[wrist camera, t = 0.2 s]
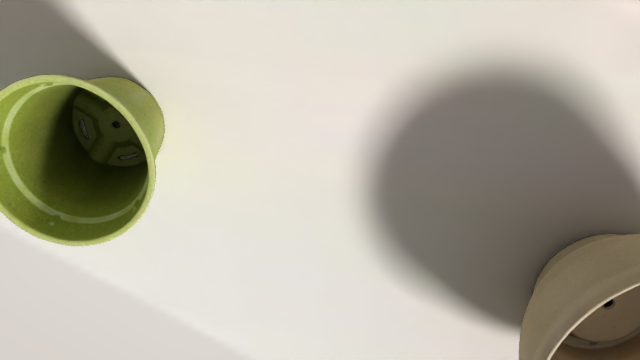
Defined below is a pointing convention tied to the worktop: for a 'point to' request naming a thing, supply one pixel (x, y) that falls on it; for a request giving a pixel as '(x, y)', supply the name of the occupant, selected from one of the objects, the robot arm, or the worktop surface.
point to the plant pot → (77, 156)
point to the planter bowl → (586, 303)
